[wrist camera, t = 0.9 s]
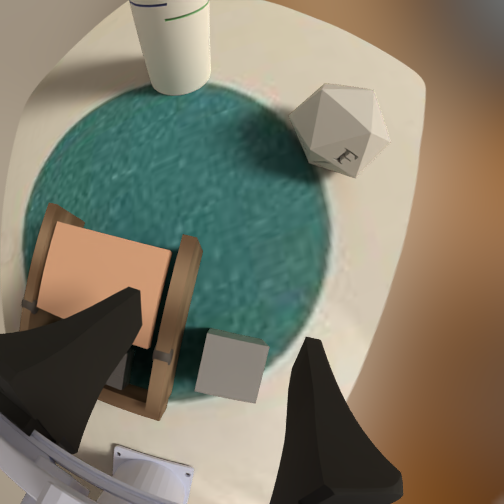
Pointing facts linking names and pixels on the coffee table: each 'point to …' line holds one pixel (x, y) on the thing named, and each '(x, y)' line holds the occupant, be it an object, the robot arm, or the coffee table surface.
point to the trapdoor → (103, 280)
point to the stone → (232, 366)
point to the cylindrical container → (174, 43)
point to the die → (341, 128)
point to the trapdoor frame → (171, 327)
